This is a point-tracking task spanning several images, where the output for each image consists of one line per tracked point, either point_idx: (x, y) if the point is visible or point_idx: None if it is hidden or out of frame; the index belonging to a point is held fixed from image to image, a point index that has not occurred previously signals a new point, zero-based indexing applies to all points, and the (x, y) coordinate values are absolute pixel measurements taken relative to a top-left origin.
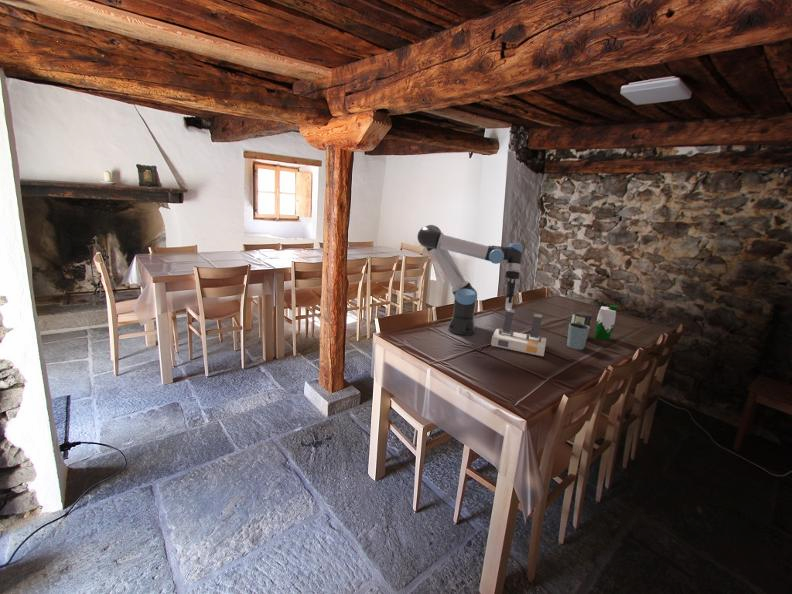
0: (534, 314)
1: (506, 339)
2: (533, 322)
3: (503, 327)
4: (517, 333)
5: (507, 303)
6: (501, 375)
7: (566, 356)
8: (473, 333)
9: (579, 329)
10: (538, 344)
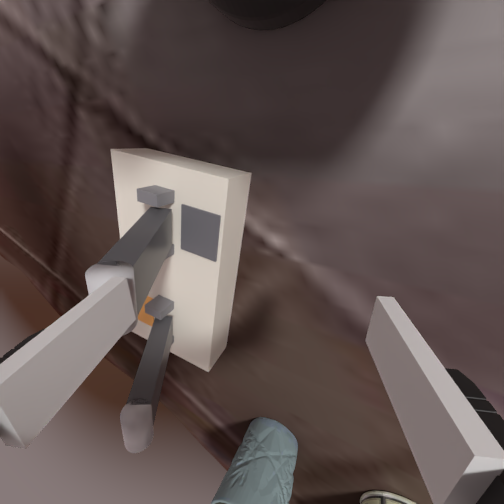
0: (120, 418)
1: (118, 214)
2: (138, 373)
3: (144, 214)
4: (207, 280)
5: (69, 316)
6: (5, 175)
7: (185, 370)
8: (239, 23)
9: (212, 500)
10: (138, 319)
